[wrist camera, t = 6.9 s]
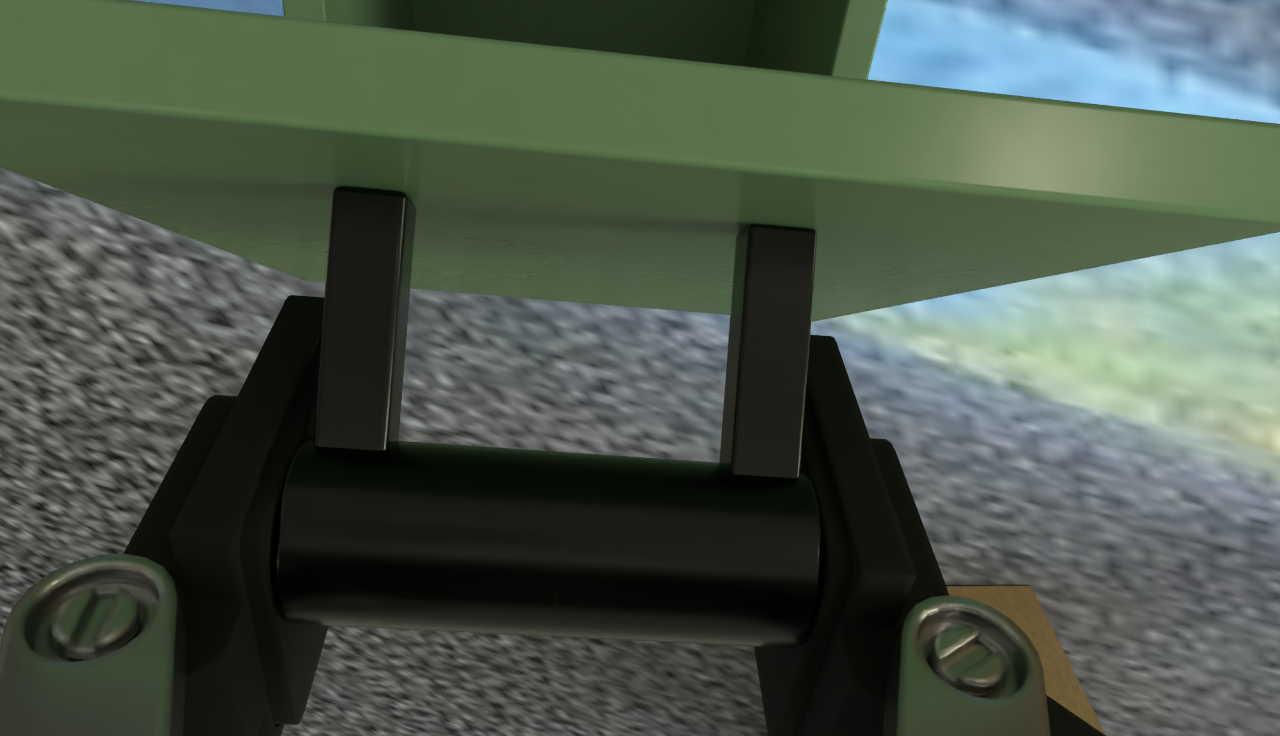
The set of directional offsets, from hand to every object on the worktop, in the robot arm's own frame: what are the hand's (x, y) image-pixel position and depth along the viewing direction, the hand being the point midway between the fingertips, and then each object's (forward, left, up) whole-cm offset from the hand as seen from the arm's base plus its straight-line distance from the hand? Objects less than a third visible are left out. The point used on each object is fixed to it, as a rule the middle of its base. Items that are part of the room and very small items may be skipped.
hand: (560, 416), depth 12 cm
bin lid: (-1, 0, -3) cm, 4 cm away
